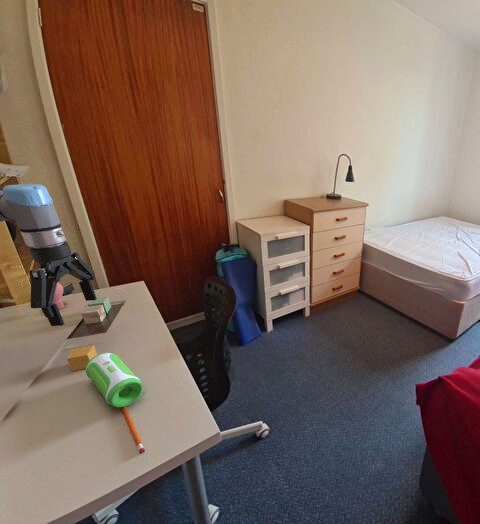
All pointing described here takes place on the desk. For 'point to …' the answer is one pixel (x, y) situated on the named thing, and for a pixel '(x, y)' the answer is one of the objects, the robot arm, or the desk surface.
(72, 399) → the desk surface
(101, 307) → the beige cube
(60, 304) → the light bulb
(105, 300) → the green cube
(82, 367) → the orange cube
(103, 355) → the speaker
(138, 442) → the pencil
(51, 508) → the desk surface
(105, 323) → the board
